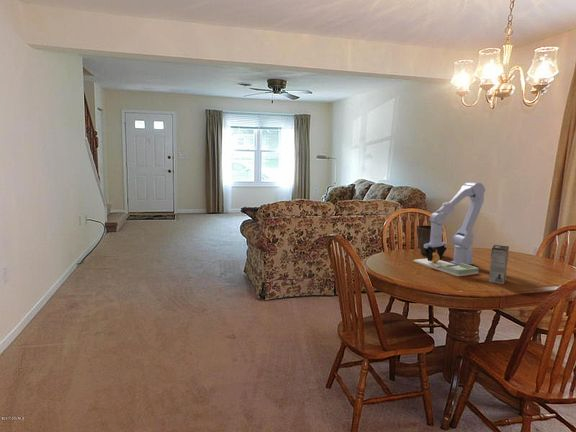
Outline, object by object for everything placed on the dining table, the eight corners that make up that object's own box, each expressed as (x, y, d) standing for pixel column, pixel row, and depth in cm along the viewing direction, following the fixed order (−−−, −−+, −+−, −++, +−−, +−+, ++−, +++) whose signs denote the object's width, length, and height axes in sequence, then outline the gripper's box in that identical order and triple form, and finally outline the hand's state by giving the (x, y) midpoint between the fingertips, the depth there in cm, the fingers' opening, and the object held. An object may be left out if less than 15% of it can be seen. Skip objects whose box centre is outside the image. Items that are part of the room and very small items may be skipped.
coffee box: (490, 277, 189) (493, 244, 187) (505, 279, 186) (509, 246, 184) (488, 282, 182) (491, 247, 180) (504, 284, 178) (507, 249, 176)
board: (432, 259, 222) (433, 254, 222) (478, 273, 196) (478, 268, 195) (413, 261, 217) (413, 256, 216) (457, 276, 190) (458, 270, 189)
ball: (434, 260, 215) (434, 251, 215) (441, 262, 211) (442, 253, 210) (427, 261, 213) (427, 252, 213) (434, 263, 209) (434, 254, 208)
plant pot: (434, 251, 244) (436, 225, 242) (445, 256, 230) (447, 229, 227) (411, 250, 244) (412, 225, 241) (420, 256, 229) (422, 229, 227)
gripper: (440, 233, 217) (438, 257, 219) (420, 234, 211) (418, 259, 213) (450, 235, 210) (448, 260, 212) (430, 237, 204) (428, 262, 206)
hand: (434, 260), depth 212 cm, fingers open, 6 cm apart
